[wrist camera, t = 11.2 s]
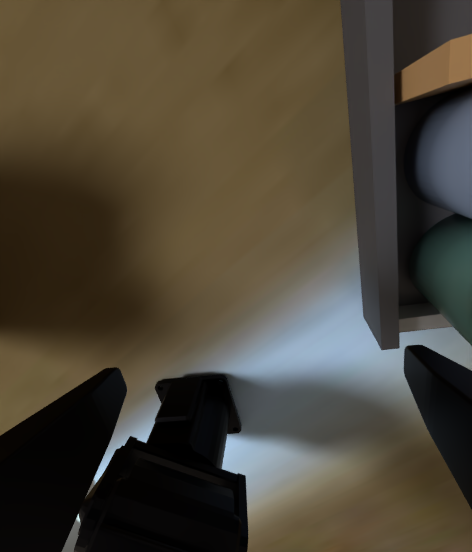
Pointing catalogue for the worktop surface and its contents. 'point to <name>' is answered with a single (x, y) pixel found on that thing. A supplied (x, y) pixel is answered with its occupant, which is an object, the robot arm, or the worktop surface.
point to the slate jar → (443, 154)
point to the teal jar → (446, 271)
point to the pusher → (436, 72)
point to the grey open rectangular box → (391, 151)
